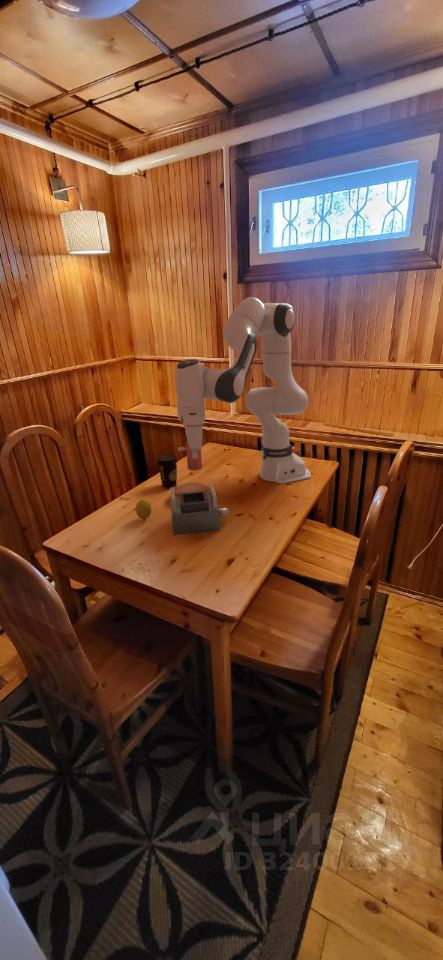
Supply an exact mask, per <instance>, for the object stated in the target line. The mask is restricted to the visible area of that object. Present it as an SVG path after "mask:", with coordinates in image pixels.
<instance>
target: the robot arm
mask: <svg viewBox="0 0 443 960" xmlns="http://www.w3.org/2000/svg"><path fill="white" fill-rule="evenodd" d="M295 323H296V312H295V310H294V308H293V306H292V305H291V304H289V303H286V302H280V303H279V302H278V303H277V302H265V303H263V302H262V301H261V300H260V299H259V298H257V297H253V296H249V297H246V298H244V299H243V300H242V301H241V302H240V303H239V304H238V305H237V306H236V307H235V308H234V310H233V311H232V313H231V314H230V316H229V317H228V318H227V320H226V322H225V323H224V327H223V329H222V336H223V339H224V341H225V343H226V344H227V346H228V347H229V348H230V349H232V350H233V351H234V352H237V353H236V355H235V358H234V361H233V364H232V366H230V367H227V368H225V369H222V368H213V367H212V368H210V367H208V366H205V365H203V364H202V363H201V361H200V360H199V359H196V358H195V359H186V360H182V361H180V362H178V363H177V365H176V367H175V372H174V385H175V386H174V387H175V388H174V389H175V393H176V397H177V400H176V413H177V414H176V415H177V420H178V421H180V422H181V425H182V426H184V429H185V430H184V431H185V434H186V435H185V436H186V439H187V441H188V444H189V448H190V450H191V451H192V458H193V459H195V458H198V450H200V449H201V450H202V448H203V429H204V428H203V425H204V424H205V419H206V405H205V404H206V403H205V399H209V400H213V401H220V402H225V403H229V404H233V403H235V402H236V401H238V400H239V399H240V398H241V397H242V395H243V393H244V391H245V387H246V381H247V378H248V375H249V372H250V369H251V367H252V364H253V362H254V359H255V357H256V353H257V350H258V339H257V337H256V336H264V338H263V344H262V345H263V347H262V348H263V349H262V351H263V352H262V371H263V373H264V375H265V376H266V377H267V378H269V379H271V380H273V381H274V382H275V383H276V385H277V387H272V386H270V387H269V386H260V387H255V388H250V390H248V392H247V393H246V396H245V406H246V407H247V409H248V411H249V412H251V413H252V414H253V415H254V416H255V417H256V419H257V420H258V422H259V424H260V427H261V431H262V445H261V458H262V461H261V467H260V472H259V478H261V479H262V480H264V481H268V482H273V483H276V484H279V485H280V484H286V483H287V484H288V483H292V482H296V481H301V480H307V479H311V477H312V474H311V472H310V470H309V469H308V468H307V467H306V463H305V461H304V460H303V459H302V458H301V457H300V456H299V455H297V454H296V452H297V448H296V447H295V446H293V445H291V444H290V429H289V427H288V425H287V424H286V423H284V422H283V421H281V420H279V419H278V418H277V416H276V415H284V416H286V415H287V416H290V415H291V416H293V415H299V414H300V415H301V414H302V413H304V412H305V411H306V409H307V407H308V405H309V397H308V395H307V392H306V391H305V390H304V389H303V388H302V387H300V386H299V385H298V382H296V380H295V378H294V375H293V371H292V337H291V332H292V330H293V329H294V326H295Z"/></svg>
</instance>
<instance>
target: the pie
mask: <svg viewBox="0 0 443 960" xmlns="http://www.w3.org/2000/svg"><path fill="white" fill-rule="evenodd" d="M174 490H175V499H177V498H180V497H179V493H189V492H199V491H206V495H210V489H209V487H208V486H207V485H205V484H202V483H200V482H199V483H198V482H186V483H182V484H180V485H178V486H177V485H176V486H175V487H174Z"/></svg>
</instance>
